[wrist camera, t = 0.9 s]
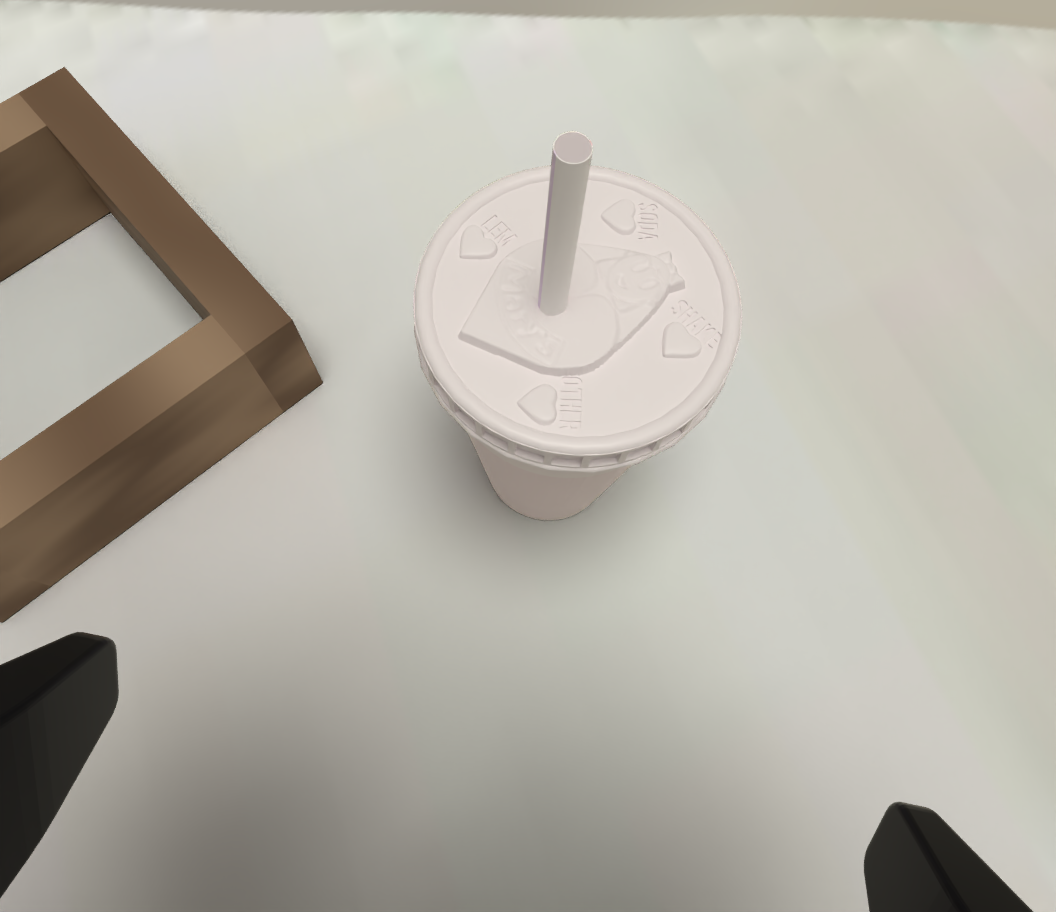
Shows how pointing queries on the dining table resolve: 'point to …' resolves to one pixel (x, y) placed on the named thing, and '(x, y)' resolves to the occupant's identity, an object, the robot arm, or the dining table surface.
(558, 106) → the dining table surface
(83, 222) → the socket block
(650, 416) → the smoothie
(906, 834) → the robot arm
